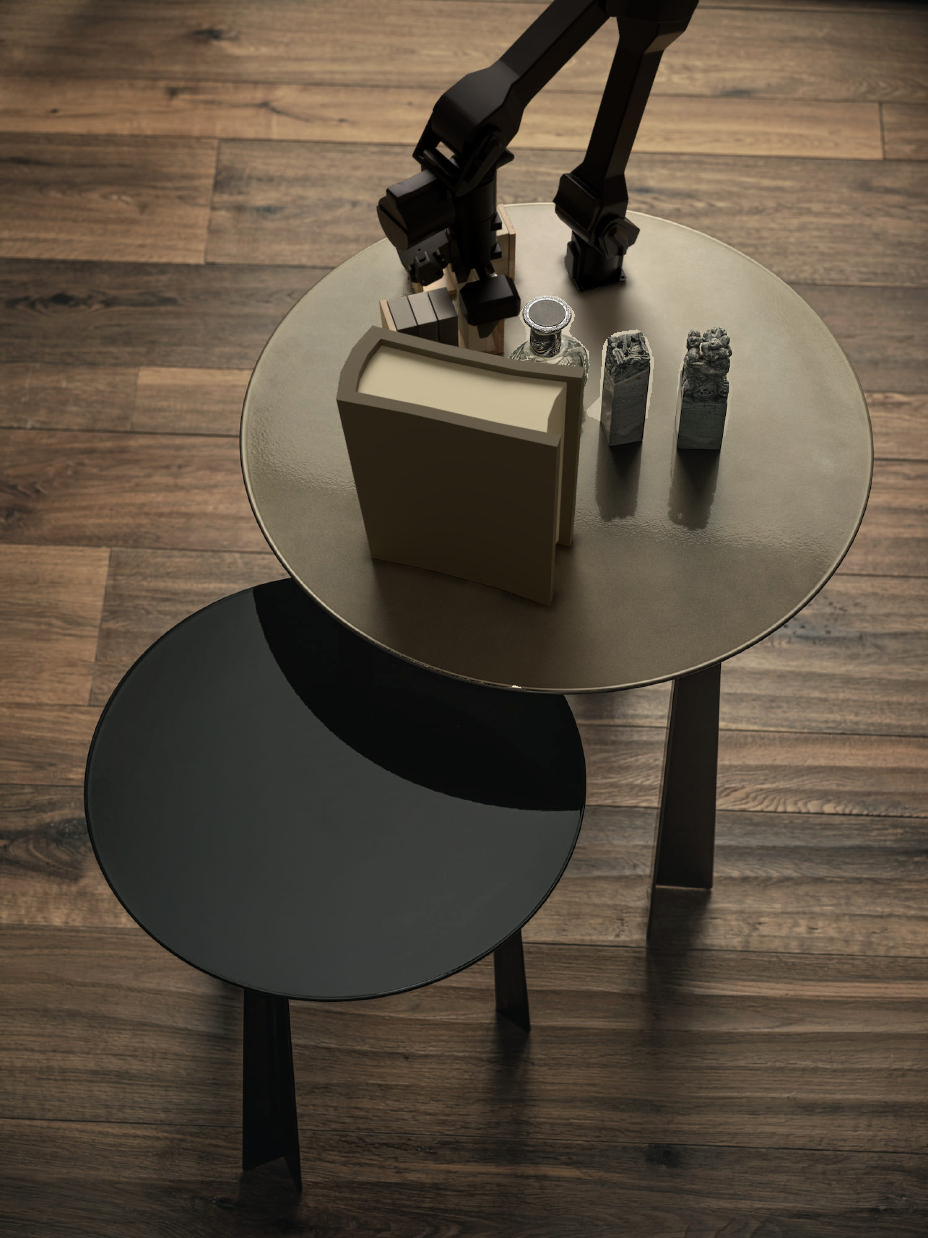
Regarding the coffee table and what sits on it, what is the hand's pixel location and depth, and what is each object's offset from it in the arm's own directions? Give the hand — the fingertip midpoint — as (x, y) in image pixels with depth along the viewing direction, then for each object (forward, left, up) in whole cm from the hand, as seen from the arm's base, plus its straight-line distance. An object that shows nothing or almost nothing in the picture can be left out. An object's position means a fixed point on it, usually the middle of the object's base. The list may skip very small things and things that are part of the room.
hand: (472, 309), depth 132 cm
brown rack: (-2, -11, -6) cm, 13 cm away
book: (+9, +29, -6) cm, 31 cm away
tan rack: (+4, 0, -6) cm, 7 cm away
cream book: (0, 0, -5) cm, 5 cm away
